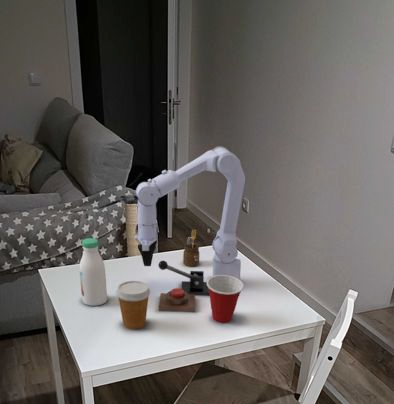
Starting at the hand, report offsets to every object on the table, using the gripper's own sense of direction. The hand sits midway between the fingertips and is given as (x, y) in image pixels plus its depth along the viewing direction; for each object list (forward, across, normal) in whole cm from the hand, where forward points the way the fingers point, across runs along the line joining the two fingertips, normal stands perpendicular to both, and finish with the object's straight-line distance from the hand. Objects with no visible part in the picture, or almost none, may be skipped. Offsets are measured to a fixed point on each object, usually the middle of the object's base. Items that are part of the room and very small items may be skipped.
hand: (147, 263), depth 159 cm
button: (+6, +11, +10) cm, 16 cm away
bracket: (+9, 0, +16) cm, 18 cm away
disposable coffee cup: (+9, +24, -2) cm, 26 cm away
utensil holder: (+9, -22, +14) cm, 28 cm away
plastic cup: (+9, +19, +24) cm, 32 cm away
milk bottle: (+9, +10, -16) cm, 21 cm away
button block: (+9, +11, +10) cm, 17 cm away
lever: (+4, 0, +10) cm, 11 cm away
